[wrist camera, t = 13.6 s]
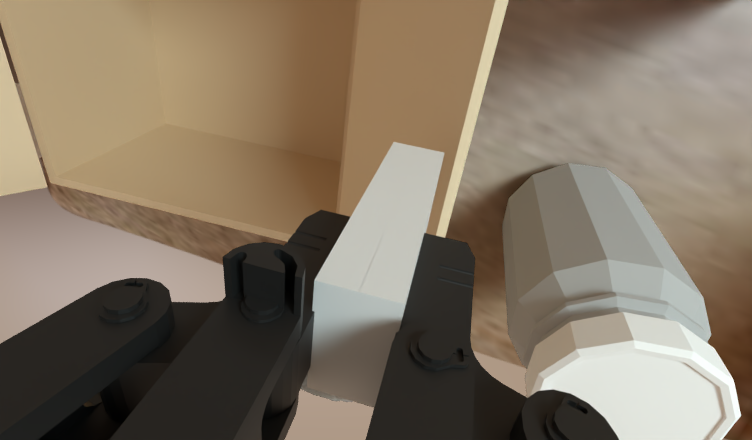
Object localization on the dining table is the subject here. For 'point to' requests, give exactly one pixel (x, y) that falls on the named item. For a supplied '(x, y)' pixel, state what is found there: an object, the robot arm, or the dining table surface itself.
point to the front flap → (418, 89)
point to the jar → (610, 309)
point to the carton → (192, 102)
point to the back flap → (15, 139)
